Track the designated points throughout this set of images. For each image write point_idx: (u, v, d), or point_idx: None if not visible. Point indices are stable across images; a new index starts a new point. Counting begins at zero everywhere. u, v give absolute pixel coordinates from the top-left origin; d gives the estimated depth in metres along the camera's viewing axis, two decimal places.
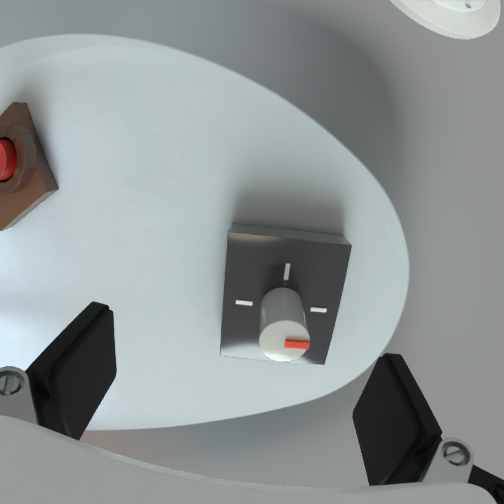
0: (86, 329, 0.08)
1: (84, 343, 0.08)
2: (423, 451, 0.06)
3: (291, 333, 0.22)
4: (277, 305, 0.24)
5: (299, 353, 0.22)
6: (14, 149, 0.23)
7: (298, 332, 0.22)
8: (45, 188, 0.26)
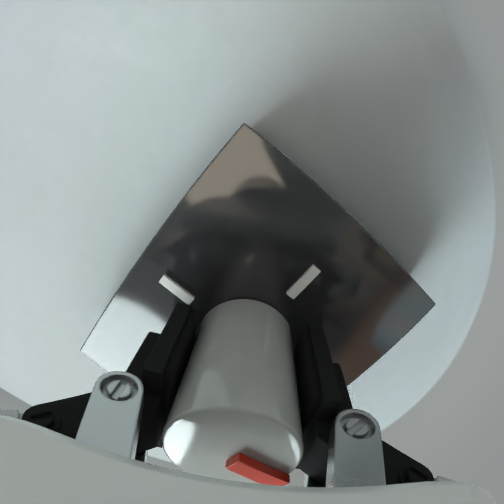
0: (182, 328, 0.09)
1: (184, 342, 0.09)
2: (326, 420, 0.07)
3: (263, 448, 0.07)
4: (257, 352, 0.08)
5: None
6: None
7: (281, 453, 0.07)
8: None
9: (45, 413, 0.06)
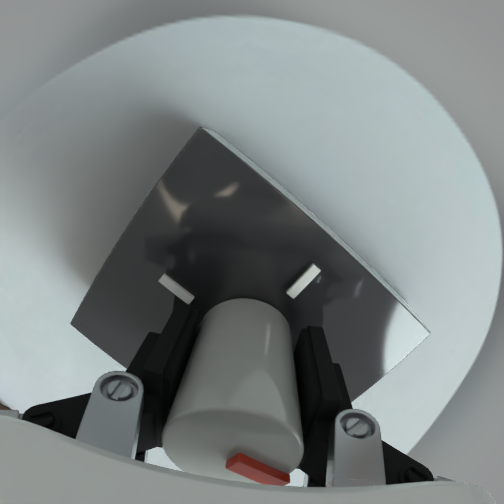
0: (182, 328, 0.09)
1: (184, 342, 0.09)
2: (326, 420, 0.07)
3: (263, 448, 0.07)
4: (258, 351, 0.08)
5: None
6: None
7: (281, 453, 0.07)
8: None
9: (45, 413, 0.06)
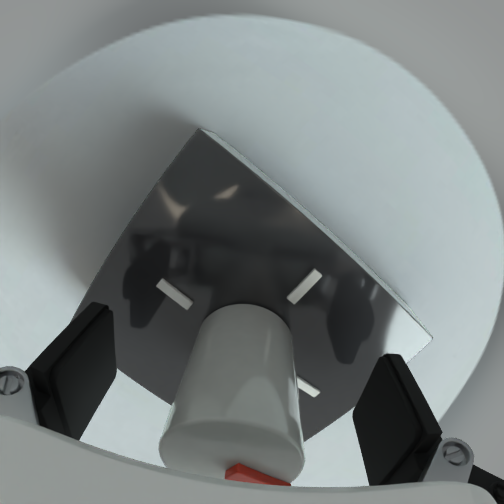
0: (86, 328, 0.08)
1: (84, 343, 0.08)
2: (423, 451, 0.06)
3: (262, 459, 0.06)
4: (255, 359, 0.08)
5: None
6: None
7: (281, 463, 0.06)
8: None
9: None
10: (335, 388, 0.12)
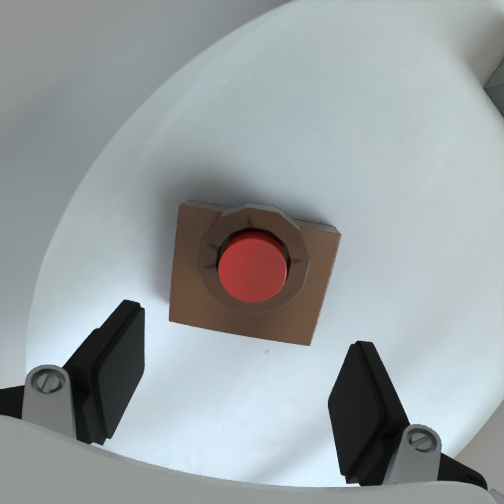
0: (122, 326, 0.09)
1: (121, 339, 0.08)
2: (389, 437, 0.07)
3: None
4: None
5: None
6: (260, 233, 0.20)
7: None
8: (334, 232, 0.21)
9: None
10: None
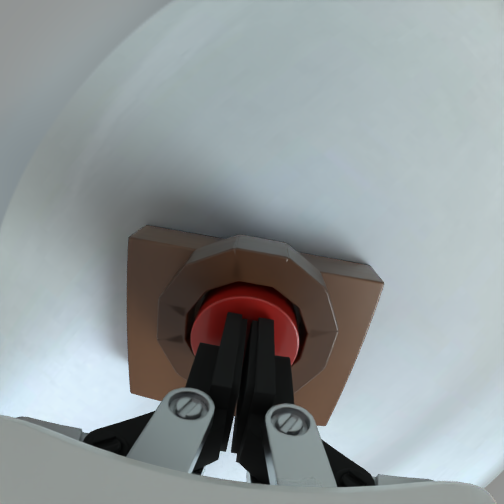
0: (238, 339, 0.09)
1: (243, 353, 0.09)
2: (262, 413, 0.07)
3: None
4: None
5: None
6: None
7: None
8: (375, 280, 0.13)
9: (109, 438, 0.06)
10: None
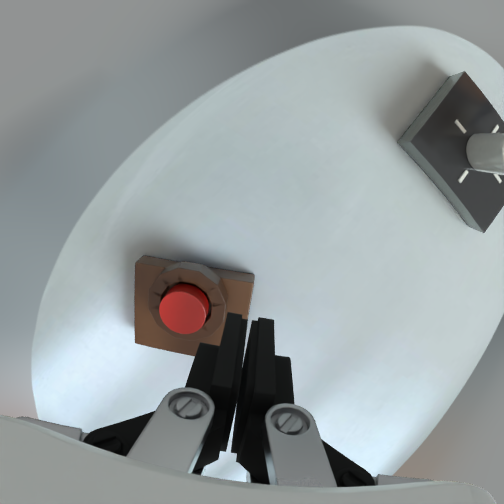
0: (238, 339, 0.09)
1: (243, 353, 0.09)
2: (262, 414, 0.07)
3: None
4: None
5: None
6: (188, 285, 0.27)
7: None
8: (248, 281, 0.28)
9: (109, 438, 0.06)
10: None
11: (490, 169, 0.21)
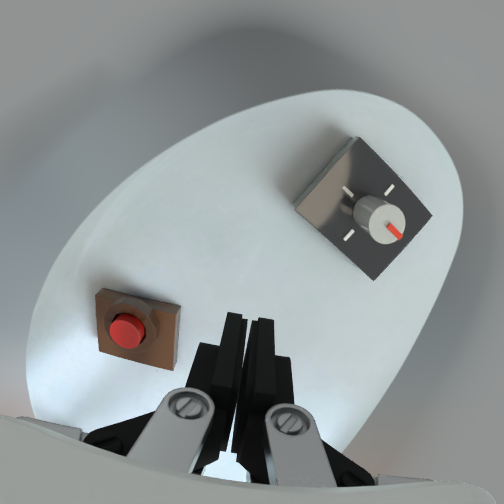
0: (238, 339, 0.09)
1: (243, 353, 0.09)
2: (262, 413, 0.07)
3: (395, 220, 0.26)
4: (385, 201, 0.28)
5: (389, 241, 0.27)
6: (129, 314, 0.36)
7: (400, 223, 0.26)
8: (172, 313, 0.37)
9: (109, 438, 0.06)
10: None
11: None
